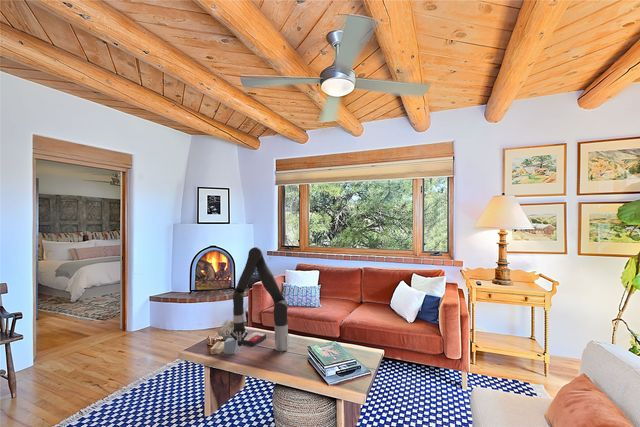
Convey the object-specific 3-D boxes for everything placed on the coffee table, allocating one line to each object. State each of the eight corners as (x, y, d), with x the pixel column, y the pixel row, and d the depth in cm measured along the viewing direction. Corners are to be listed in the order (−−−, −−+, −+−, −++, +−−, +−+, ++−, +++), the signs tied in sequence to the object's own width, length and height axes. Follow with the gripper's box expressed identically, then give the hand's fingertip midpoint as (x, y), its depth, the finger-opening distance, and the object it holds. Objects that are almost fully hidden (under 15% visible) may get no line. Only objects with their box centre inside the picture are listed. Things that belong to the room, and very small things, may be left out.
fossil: (222, 341, 219) (226, 320, 223) (212, 339, 222) (216, 318, 227) (235, 340, 232) (239, 320, 237) (226, 338, 236) (230, 318, 241)
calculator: (241, 339, 220) (254, 331, 233) (242, 344, 220) (255, 336, 233) (253, 341, 215) (266, 333, 228) (253, 347, 215) (266, 338, 228)
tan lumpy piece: (225, 346, 215) (225, 341, 215) (219, 354, 203) (219, 348, 203) (217, 346, 215) (217, 341, 215) (210, 353, 203) (210, 348, 203)
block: (237, 349, 210) (237, 338, 210) (234, 354, 203) (234, 342, 203) (227, 349, 210) (227, 338, 210) (224, 354, 203) (224, 342, 203)
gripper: (249, 318, 210) (250, 343, 209) (231, 319, 210) (232, 343, 210) (246, 322, 202) (247, 348, 202) (227, 322, 203) (228, 348, 203)
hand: (240, 345), depth 206 cm, fingers closed
